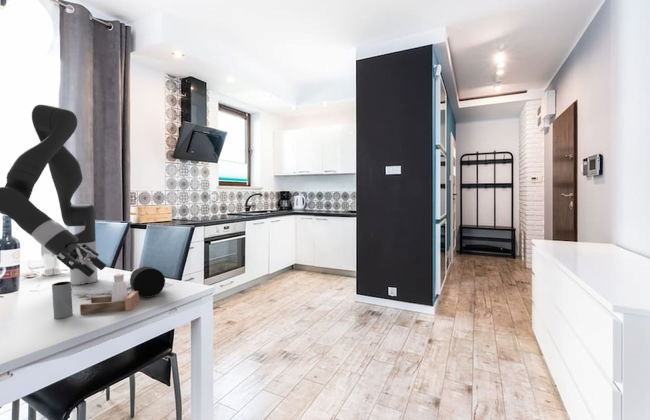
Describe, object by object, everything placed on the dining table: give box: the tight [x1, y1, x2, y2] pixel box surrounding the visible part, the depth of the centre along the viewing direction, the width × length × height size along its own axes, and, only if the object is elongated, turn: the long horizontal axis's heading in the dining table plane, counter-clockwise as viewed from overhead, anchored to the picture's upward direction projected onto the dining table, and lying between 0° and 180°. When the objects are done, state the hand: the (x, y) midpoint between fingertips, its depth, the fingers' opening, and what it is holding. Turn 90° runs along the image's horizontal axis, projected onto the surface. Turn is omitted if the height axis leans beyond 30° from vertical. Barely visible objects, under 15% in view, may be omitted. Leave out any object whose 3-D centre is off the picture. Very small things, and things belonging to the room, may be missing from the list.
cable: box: [129, 266, 166, 298], centre depth 127 cm, size 10×34×10 cm, turn 35°
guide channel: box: [79, 290, 140, 315], centre depth 105 cm, size 14×8×4 cm, turn 103°
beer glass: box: [40, 244, 62, 277], centre depth 150 cm, size 7×7×15 cm
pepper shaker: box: [111, 273, 128, 302], centre depth 106 cm, size 5×5×11 cm
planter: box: [51, 280, 74, 320], centre depth 98 cm, size 4×4×10 cm
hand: (98, 270), depth 104 cm, fingers open, 8 cm apart
